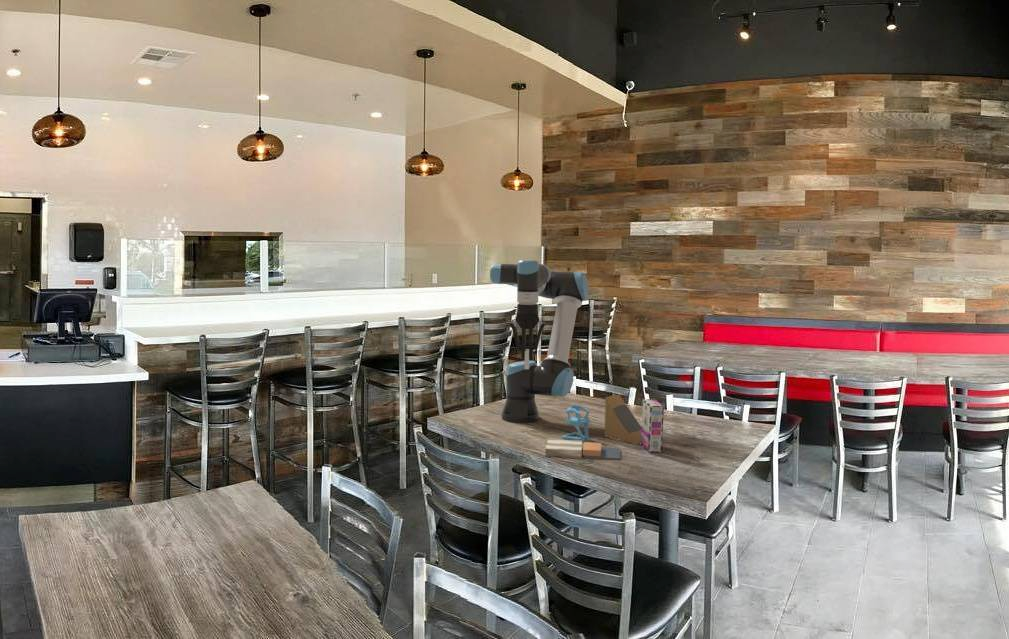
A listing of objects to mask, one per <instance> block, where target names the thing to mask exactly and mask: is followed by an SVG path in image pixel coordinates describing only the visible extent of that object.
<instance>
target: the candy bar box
mask: <svg viewBox="0 0 1009 639" xmlns="http://www.w3.org/2000/svg"><path fill="white" fill-rule="evenodd" d="M664 411H665V406H664V405H663V404H662V403H660V402H659V401H658V400H656V399H649V398H648V399H642V411H641V412H642V415H641V427H642V433H641V444H640V445H641V446H642V447H643V446H644V447H643V448H644V449H645V450H646V451H647V452H648V453H650V454H653V452H656V453H655V454H659V453H663V431H664Z"/></svg>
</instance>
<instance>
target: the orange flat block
mask: <svg viewBox="0 0 1009 639" xmlns="http://www.w3.org/2000/svg"><path fill="white" fill-rule="evenodd" d="M601 447H602V442H589V441H583V443H582V456H583V457H584V456H601Z"/></svg>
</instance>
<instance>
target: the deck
mask: <svg viewBox="0 0 1009 639" xmlns="http://www.w3.org/2000/svg"><path fill="white" fill-rule="evenodd" d="M544 450H545V452H544V453H545V454H544V455H545V457H554V456H561V457H560V458H573V457H574V458H576V459H577V458H578V459H581V458H582V456H583V441H581V440H570V439H558V438H548V439H547V442H546V445H545V449H544Z"/></svg>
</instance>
